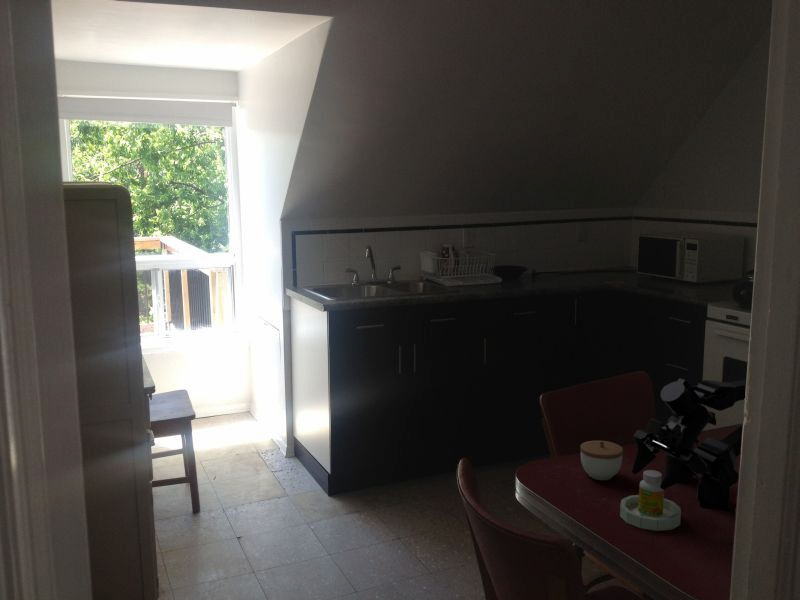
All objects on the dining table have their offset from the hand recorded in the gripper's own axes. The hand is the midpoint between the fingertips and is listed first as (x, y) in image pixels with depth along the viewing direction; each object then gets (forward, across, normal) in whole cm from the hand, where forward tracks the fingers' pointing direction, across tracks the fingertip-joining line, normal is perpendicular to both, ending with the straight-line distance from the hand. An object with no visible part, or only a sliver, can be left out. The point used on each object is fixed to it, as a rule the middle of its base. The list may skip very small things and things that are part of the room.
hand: (647, 480), depth 168 cm
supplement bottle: (+5, 0, +7) cm, 9 cm away
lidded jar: (+2, -24, +11) cm, 27 cm away
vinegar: (-10, -16, +24) cm, 30 cm away
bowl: (+5, 0, +7) cm, 9 cm away
